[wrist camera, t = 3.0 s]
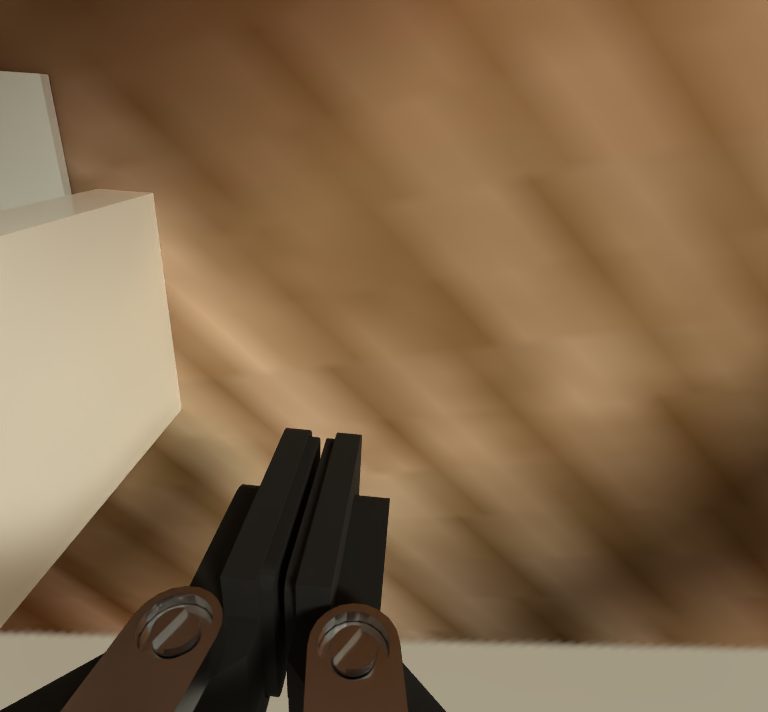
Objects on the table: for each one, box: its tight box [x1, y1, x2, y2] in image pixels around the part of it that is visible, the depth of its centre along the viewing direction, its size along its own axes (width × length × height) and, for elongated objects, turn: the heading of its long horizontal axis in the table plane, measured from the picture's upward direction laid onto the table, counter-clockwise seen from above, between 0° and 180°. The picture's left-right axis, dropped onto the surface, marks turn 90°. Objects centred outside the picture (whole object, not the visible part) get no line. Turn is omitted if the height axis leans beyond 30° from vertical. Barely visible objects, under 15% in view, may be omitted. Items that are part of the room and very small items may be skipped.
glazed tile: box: [0, 189, 181, 628], centre depth 14 cm, size 2×9×14 cm, turn 176°
